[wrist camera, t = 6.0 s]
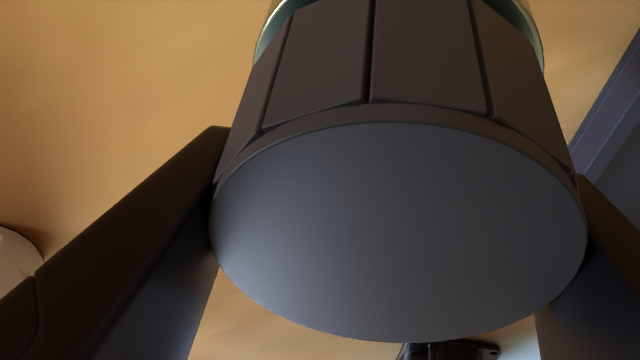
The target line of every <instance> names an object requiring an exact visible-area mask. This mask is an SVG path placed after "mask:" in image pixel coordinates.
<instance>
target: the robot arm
mask: <svg viewBox="0 0 640 360" xmlns="http://www.w3.org/2000/svg"><path fill="white" fill-rule="evenodd" d="M230 130H231V128H230V127H223V126H215V125H214V126H210V127H208V128H207V129H205V130H204V131H203V132H202V133H201V134H199V135H198V136H197V137H196V138H195V139H193V140H192V141H191V142H190V143H189V144H187V145H186V146H185V147H184V148H183V149H181V150H180V151H179V152H178V153H177V154H175V155H174V156H173V157H172V158H170V159H169V160H168V161H167V162H166V163H164V164H163V165H162V166H161V167H160V168H158V169H157V170H156V171H155V172H154V173H152V174H151V175H150V176H149V177H148V178H146V179H145V180H144V181H143V182H142V183H140V184H139V185H138V186H137V187H136V188H134V189H133V190H132V191H131V192H129V193H128V194H127V195H126V196H125V197H123V198H122V199H121V200H120V201H119V202H117V203H116V204H115V205H114V206H113V207H111V208H110V209H109V210H108V211H107V212H105V213H104V214H103V215H102V216H101V217H99V218H98V219H97V220H96V221H95V222H93V223H92V224H91V225H90V226H88V227H87V228H86V229H85V230H84V231H82V232H81V233H80V234H79V235H78V236H76V237H75V238H74V239H73V240H72V241H70V242H69V243H68V244H67V245H66V246H64V247H63V248H62V249H61V250H60V251H58V252H57V253H56V254H55V255H54V256H52V257H51V258H50V259H49V260H47V261H46V262H45V263H44V264H43V265H41V266H40V267H39V268H38V269H37V270H35V272H34V276H28V277H27V278H25V279H24V280H23V281H22V282H21V283H19V284H18V285H17V286H16V287H15V288H13V289H12V290H11V291H10V292H9V293H7V294H6V295H5V296H4V297H2V298H1V299H0V360H187V359H188V356H189V353H190V350H191V347H192V344H193V341H194V338H195V336H196V333H197V330H198V327H199V324H200V321H201V318H202V315H203V313H204V310H205V307H206V304H207V301H208V298H209V295H210V293H211V290H212V287H213V284H214V281H215V278H216V275H217V272H218V269H219V264H218V263H217V260H216V258H215V256H214V254H213V252H212V250H211V246H210V242H209V238H208V227H207V219H208V213H209V207H210V204H211V201H212V198H213V195H212V190H213V188H214V187H212V181H213V178H214V175H215V173H216V170H217V167H218V164H219V161H220V158H221V156H222V153H223V150H224V147H225V144H226V141H227V138H228V136H229V133H230ZM576 175H577V182H578V188H579V194H580V200H581V204H582V207H583V210H584V214H585V217H586V221H587V224H588V244H587V248H586V253H585V258H584V260H583V262H582V264H581V267H580V269H579V271H578V273H577V274H576V276H575V277H574V278H573V280H572V281H571V282H570V284H569V285H568V286H567V287H566V288H565V289H564V290H563V291H562V292H561V293H560V294H559V295H558V296H557V297H556V298H555V299H553V300H552V301H551V302H549V303H548V304H547V305H546V306H544V307H543V308H541V309H539V310H538V311H536V312H534V318H535V324H536V331H537V337H538V343H539V349H540V356H541V360H640V231H639V230H638V229H637V228H636V227H635V226H634V225H633V224H632V223H631V222H630V221H629V220H628V219H627V218H626V217H625V216H624V215H623V214H622V213H621V212H620V211H619V210H618V209H617V208H616V207H615V206H614V205H613V204H612V203H611V202H610V201H609V200H608V199H607V198H606V197H605V196H604V195H603V194H602V193H601V192H600V191H599V190H598V189H597V188H596V187H595V186H594V185H593V184H592V183H591V182H590V181H589V180H588V179H587V178H586V177H585V176H584V175H582V174H579V173H576ZM500 355H501V347H500V346H498V345H494V344H487V343H480V342H473V341H465V340H458V339H453V340H446V341H438V342H423V343H403V346H402V348H401V350H400V352H399V354H398V357H397V359H396V360H497V358H498V357H499V356H500Z"/></svg>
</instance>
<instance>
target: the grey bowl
mask: <svg viewBox="0 0 640 360" xmlns="http://www.w3.org/2000/svg"><path fill="white" fill-rule="evenodd" d="M43 264H44V261H43V259H42V257H41V255H40V253H39V251H38V250H37V249H36V247H35V246H34V245H33V244H32V243H31V242H30V241H29V240H27V239H26V238H24V237H23V236H21V235H20V234H18V233H16V232H14V231H12V230H9V229H6V228H4V227H1V226H0V299H1V298H2V297H4V296H5V295H6V294H7V293H9V292H10V291H11V290H12V289H13V288H15V287H16V286H17V285H18V284H19V283H21V282H22V281H23V280H24V279H25V278H27V277H28V276H34V272H35V270H37V269H38V268H39V267H40V266H41V265H43Z"/></svg>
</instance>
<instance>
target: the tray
mask: <svg viewBox="0 0 640 360" xmlns="http://www.w3.org/2000/svg"><path fill="white" fill-rule="evenodd" d="M567 148H568V151H569V154H570V157H571V159H572V162H573V165H574V168H575V171H576V173H579V174H582V175H584V176H585V177H586V178H587V179H588V180H589V181H590V182H591V183H592V184H593V185H594V186H595V187H596V188H597V189H598V190H599V191H600V192H601V193H602V194H603V195H604V196H605V197H606V198H607V199H608V200H609V201H610V202H611V203H612V204H613V205H614V206H615V207H616V208H617V209H618V210H619V211H620V212H621V213H622V214H623V215H624V216H625V217H626V218H627V219H628V220H629V221H630V222H631V223H632V224H633V225H634V226H635V227H636V228H637V229H638V230H639V231H640V28H639V30H638V32H637V33H636V35H635V37H634V38H633V40H632V42H631V43H630V45H629V47H628V48H627V50H626V52H625V53H624V55H623V56H622V58H621V60H620V61H619V63H618V65H617V66H616V68H615V70H614V71H613V73H612V75H611V76H610V78H609V80H608V81H607V83H606V84H605V86H604V88H603V89H602V91H601V93H600V94H599V96H598V98H597V99H596V101H595V103H594V104H593V106H592V108H591V109H590V111H589V112H588V114H587V116H586V117H585V119H584V121H583V122H582V124H581V126H580V127H579V129H578V131H577V132H576V134H575V136H574V137H573V139H572V140H571V142H570V144H569V145H568V147H567Z"/></svg>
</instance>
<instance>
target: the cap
mask: <svg viewBox="0 0 640 360" xmlns="http://www.w3.org/2000/svg"><path fill="white" fill-rule="evenodd" d="M212 187H214V188H213V190H212V195H213V198H212V201H211V204H210V207H209V213H208V219H207V227H208V238H209V242H210V246H211V250H212V252H213V254H214V256H215V258H216V260H217V263H218V264H219V266H220V267H221V268H222V270H223V271H224V273H225V274H226V276H227V277H228V278H229V279H230V280H231V281H232V282H233V283H234V284H235V285H236V286H237V287H238V288H239V289H240V290H241V291H242V292H244V293H245V294H246V295H247V296H248V297H250V298H251V299H253V300H254V301H255V302H257V303H258V304H260V305H261V306H263V307H265V308H266V309H268V310H270V311H272V312H274V313H275V314H277V315H279V316H282V317H284V318H286V319H288V320H290V321H292V322H295V323H298V324H300V325H303V326H306V327H308V328H312V329H315V330H318V331H322V332H325V333H329V334H333V335H338V336H342V337H347V338H353V339H359V340H367V341H376V342H390V343H423V342H438V341H446V340H453V339H459V338H464V337H469V336H474V335H478V334H482V333H486V332H489V331H493V330H496V329H499V328H502V327H504V326H507V325H510V324H512V323H515V322H517V321H519V320H521V319H523V318H525V317H527V316H529V315H531V314H533V313H534V312H536V311H538V310H539V309H541V308H543V307H544V306H546V305H547V304H548V303H549V302H551V301H552V300H553V299H555V298H556V297H557V296H558V295H559V294H560V293H561V292H562V291H563V290H564V289H565V288H566V287H567V286H568V285H569V284H570V282H571V281H572V280H573V278H574V277H575V276H576V274H577V273H578V271H579V269H580V267H581V264H582V262H583V260H584V258H585V253H586V248H587V244H588V224H587V221H586V217H585V214H584V210H583V207H582V204H581V200H580V194H579V188H578V182H577V175H576V171H575V168H574V165H573V162H572V159H571V157H570V154H569V151H568V148H567V145H566V142H565V139H564V136H563V133H562V130H561V127H560V124H559V121H558V118H557V115H556V112H555V109H554V106H553V103H552V100H551V97H550V94H549V91H548V88H547V85H546V82H545V79H544V76H543V73H542V70H541V67H540V64H539V61H538V59H537V56H536V53H535V50H534V47H533V45H531V43H530V40H529V39H528V38H527V37H526V36H525V35H524V34H522V33H521V32H520V31H519V30H517V29H516V28H515V27H514V26H513V25H511V24H510V23H509V22H508V21H506V20H505V19H504V18H503V17H502V16H500V15H499V14H498V13H497V12H495V11H494V10H493V9H492V8H491V7H489V6H488V5H487V4H486V3H484V2H483V1H482V0H319V1H317V2H314V3H312V4H309V5H307V6H304V7H302V8H300V9H297V10H296V11H295V14H294V16H293V15H289V16H288V18H287V19H286V21H285V22H284V23H283V25H282V26H281V28H280V29H279V30H278V32H277V33H276V35H275V36H274V37H273V39H272V40H271V42H270V43H269V45H268V46H267V47H266V49H265V50H264V52H263V53H262V54H261V56H260V57H259V59H258V60H257V61H256V63H255V64H254V66H253V67H252V70H251V73H250V76H249V79H248V82H247V84H246V87H245V90H244V93H243V96H242V99H241V101H240V104H239V107H238V110H237V113H236V116H235V119H234V121H233V124H232V127H231V130H230V133H229V136H228V138H227V141H226V144H225V147H224V150H223V153H222V156H221V158H220V161H219V164H218V167H217V170H216V173H215V175H214V178H213V181H212Z"/></svg>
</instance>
